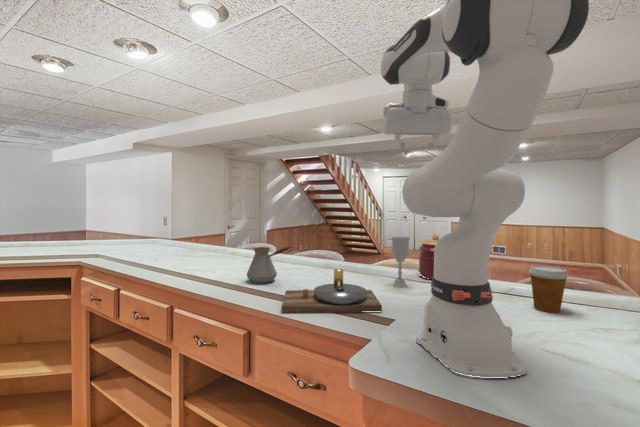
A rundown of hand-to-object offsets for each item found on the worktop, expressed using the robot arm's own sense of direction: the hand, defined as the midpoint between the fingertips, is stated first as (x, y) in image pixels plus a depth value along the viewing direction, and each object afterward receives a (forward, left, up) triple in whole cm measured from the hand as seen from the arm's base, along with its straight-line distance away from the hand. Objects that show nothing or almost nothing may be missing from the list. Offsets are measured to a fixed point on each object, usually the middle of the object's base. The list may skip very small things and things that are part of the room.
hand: (416, 149), depth 103 cm
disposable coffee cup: (-9, -36, -48) cm, 61 cm away
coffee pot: (+22, +48, -48) cm, 71 cm away
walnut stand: (-3, +27, -47) cm, 54 cm away
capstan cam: (-3, +24, -45) cm, 51 cm away
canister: (+31, -18, -48) cm, 60 cm away
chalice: (+18, 0, -48) cm, 51 cm away
